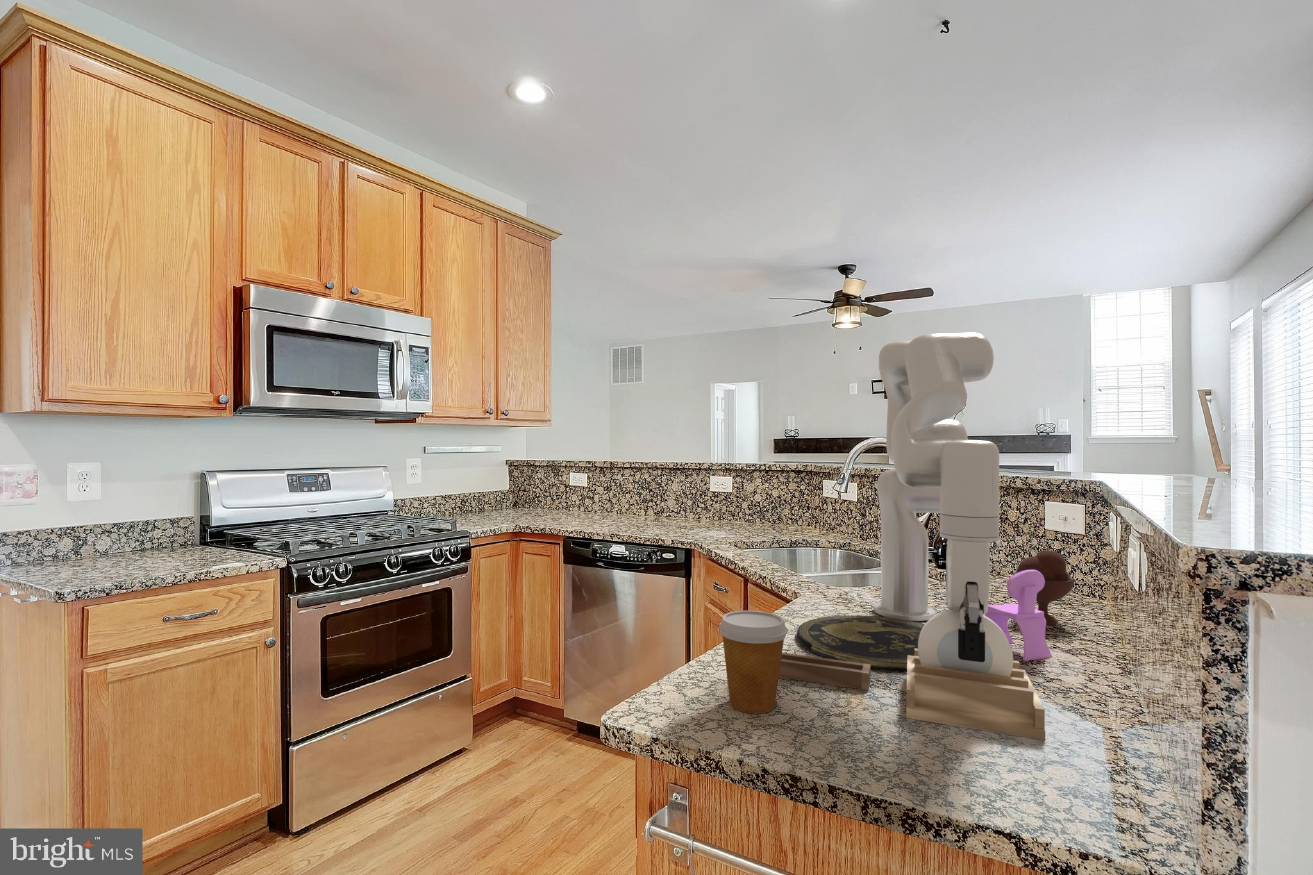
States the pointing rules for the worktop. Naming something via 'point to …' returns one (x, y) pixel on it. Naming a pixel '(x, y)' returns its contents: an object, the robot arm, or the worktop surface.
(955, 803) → the worktop surface
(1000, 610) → the toy chair
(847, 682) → the plate stand
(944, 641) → the side plate
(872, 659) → the decorative plate
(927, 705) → the dish rack
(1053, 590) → the ice cream bowl
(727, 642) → the disposable coffee cup
